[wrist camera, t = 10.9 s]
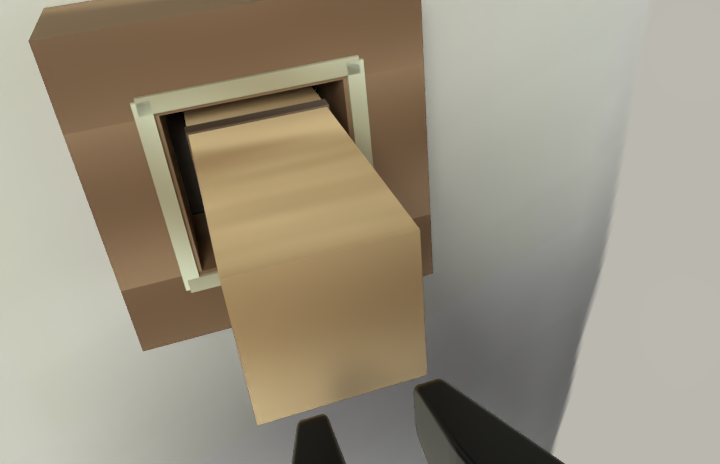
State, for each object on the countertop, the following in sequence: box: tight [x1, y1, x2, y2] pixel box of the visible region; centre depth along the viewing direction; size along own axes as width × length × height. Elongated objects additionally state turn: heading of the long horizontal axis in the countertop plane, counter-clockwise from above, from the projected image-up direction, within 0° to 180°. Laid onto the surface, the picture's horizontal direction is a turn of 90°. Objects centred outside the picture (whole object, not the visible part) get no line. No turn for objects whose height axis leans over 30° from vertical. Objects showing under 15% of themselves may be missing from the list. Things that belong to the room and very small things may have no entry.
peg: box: [183, 86, 427, 426], centre depth 15 cm, size 3×3×9 cm
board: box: [29, 0, 433, 351], centre depth 17 cm, size 8×8×3 cm
